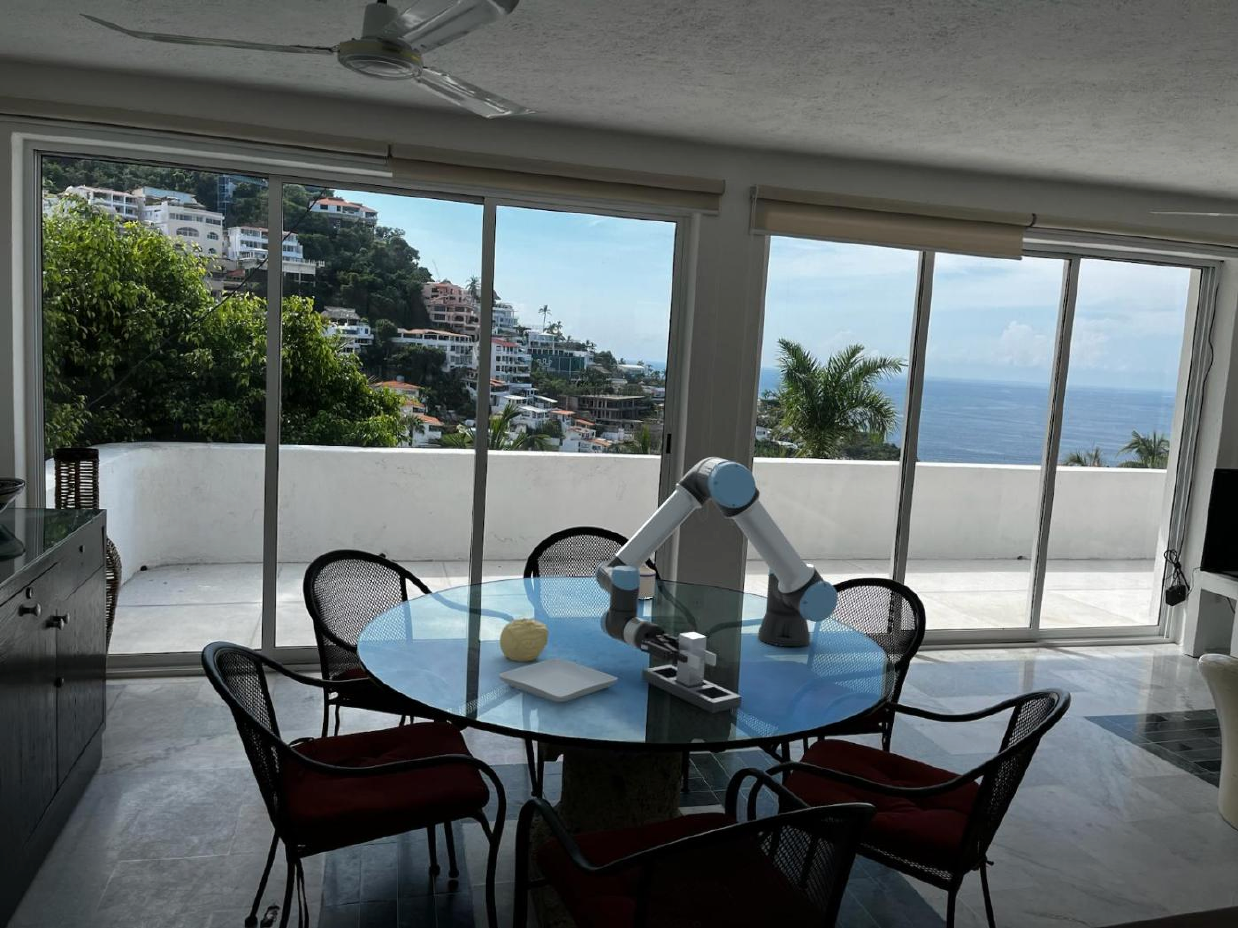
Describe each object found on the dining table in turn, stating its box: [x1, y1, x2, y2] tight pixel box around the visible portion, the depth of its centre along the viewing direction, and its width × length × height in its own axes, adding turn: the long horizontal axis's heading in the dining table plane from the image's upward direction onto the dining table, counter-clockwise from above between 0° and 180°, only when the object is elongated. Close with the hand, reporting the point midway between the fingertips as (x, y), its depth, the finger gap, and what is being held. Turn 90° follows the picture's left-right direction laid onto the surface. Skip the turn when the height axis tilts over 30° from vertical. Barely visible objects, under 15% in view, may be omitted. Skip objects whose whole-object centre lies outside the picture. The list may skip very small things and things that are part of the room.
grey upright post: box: [676, 631, 707, 688], centre depth 230 cm, size 5×5×12 cm
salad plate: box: [497, 657, 619, 703], centre depth 229 cm, size 21×21×3 cm
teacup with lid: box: [638, 562, 657, 598], centre depth 321 cm, size 12×9×12 cm
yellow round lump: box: [499, 617, 549, 663], centre depth 249 cm, size 11×12×11 cm
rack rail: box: [641, 664, 742, 714], centre depth 230 cm, size 9×26×2 cm, turn 37°
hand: (706, 661), depth 225 cm, fingers closed on grey upright post, 5 cm apart
